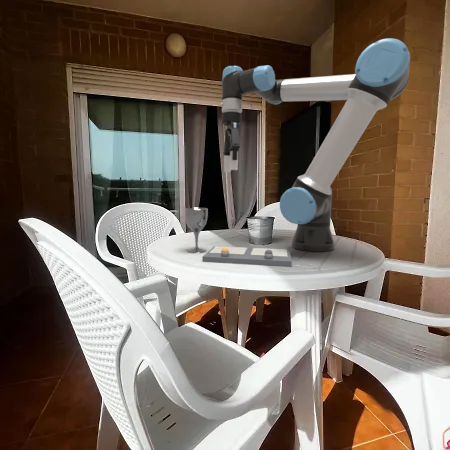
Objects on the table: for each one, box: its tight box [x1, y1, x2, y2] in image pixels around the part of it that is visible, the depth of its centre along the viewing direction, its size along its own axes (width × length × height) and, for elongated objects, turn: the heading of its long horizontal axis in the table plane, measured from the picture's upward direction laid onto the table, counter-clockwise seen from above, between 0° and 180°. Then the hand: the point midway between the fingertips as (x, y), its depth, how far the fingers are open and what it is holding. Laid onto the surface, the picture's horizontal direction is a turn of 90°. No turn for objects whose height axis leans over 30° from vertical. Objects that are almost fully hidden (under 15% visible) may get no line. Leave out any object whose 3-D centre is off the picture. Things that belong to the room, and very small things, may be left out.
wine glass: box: [184, 207, 209, 254], centre depth 94 cm, size 8×8×15 cm
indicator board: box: [201, 245, 293, 268], centre depth 85 cm, size 26×15×4 cm, turn 79°
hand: (230, 171), depth 104 cm, fingers open, 13 cm apart
